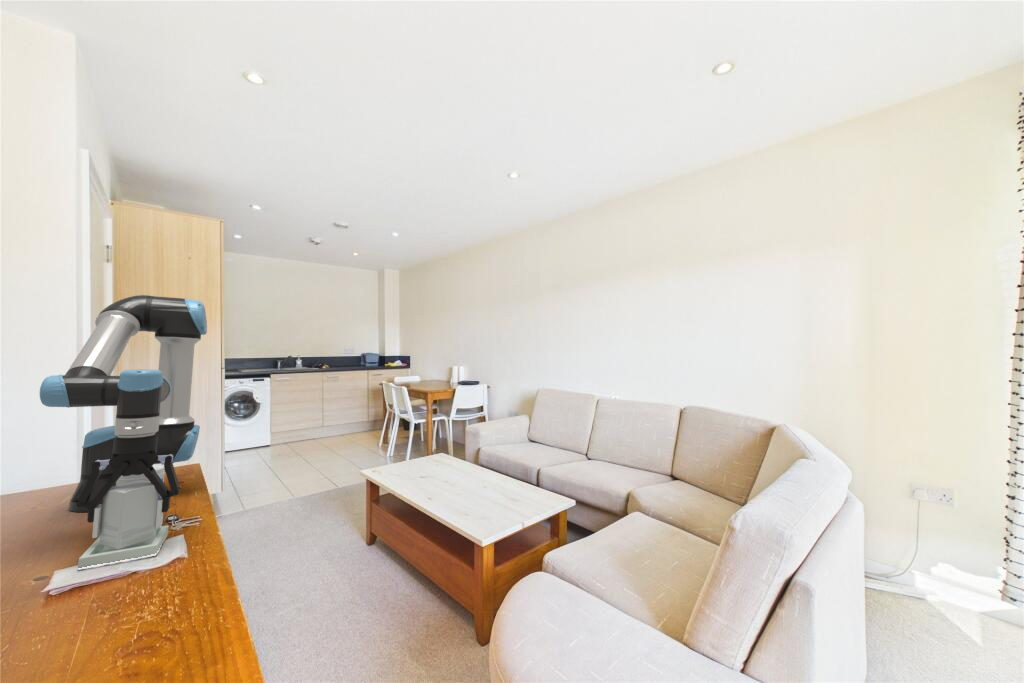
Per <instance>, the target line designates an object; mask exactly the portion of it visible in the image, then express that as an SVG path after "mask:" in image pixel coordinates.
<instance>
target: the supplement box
mask: <svg viewBox="0 0 1024 683" xmlns="http://www.w3.org/2000/svg"><path fill="white" fill-rule="evenodd" d="M158 500H159V493H158V492H157V490H156V489H155V487H154V485H152V484H151V482H148V481H143V480H140V481H135V482H131V483H126V484H122V485H118V486H114V487H111V488H110V489H109V490H108V492H107V493H106V494H105V496H104V497H103V504H102V516H101V528H100V535H99V536H100V539H99V544H100V545H104V546H107V547H111V548H114V549H122V548H125V547H128V546H130V545H133V544H136V543H139V542H142V541H145V540H148V539H151V538H153V537H155V536H156V518H157V505H158Z"/></svg>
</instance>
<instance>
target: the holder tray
mask: <svg viewBox="0 0 1024 683" xmlns="http://www.w3.org/2000/svg"><path fill="white" fill-rule="evenodd" d="M169 526H170V525H169V524H168V525H161V527H160V528H157V529H156V536H155V537H153V538H151V539H148V540H145V541H142V542H139V543H136V544H133V545H130V546H128V547H125V548H122V549H114V548H111V547H107V546H104V545H100V544H99V539H100V535H99V536H98V537H97V538H96V540H94V542H93V543H92V544H91V545H90V546H89V547H88V548H87V549H86V551H84V553H83V554H82V555H81V556H80V557H79V558H78V563H77V569H78V568H82V567H87V566H91V565H97V564H103V563H110V562H115V561H120V560H125V559H131V558H138V557H142V556H147V555H151V554H155V553H157V551H158V550H159V548H160V546H161V545H162V543H163V542H164V541H165V542H166V540H167V538H168V537H169V528H170V527H169ZM165 542H164V543H165ZM164 543H163V544H164ZM162 546H163V545H162Z"/></svg>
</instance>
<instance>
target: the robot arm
mask: <svg viewBox="0 0 1024 683" xmlns="http://www.w3.org/2000/svg"><path fill="white" fill-rule="evenodd" d="M94 323H95V328H94V330H93V331H92V333H91V335H90V336H89V337H88V339H87V341H86V342H85V344H84V345H83V347H82V349H80V351H79V353H78V355H77V356H76V358H75V359H74V360H73V362H72V363H71V365H70V366H69V368H68V370H67V371H66V373H65V374H63V375H62V374H58V375H49V376H47V377H45V378H44V379H43V380H42V382H41V385H40V387H39V388H40V389H39V400H40V403H42V405H43V406H45V407H47V408H67V409H68V408H83V407H84V408H86V407H88V408H89V407H112V406H114V407H116V415H115V422H114V423H115V424H114V425H110V426H106V427H100V428H99V427H98V428H96V429H93V430H90V431H88V432H87V433H86V434H85V436H84V439H83V440H84V441H83V445H82V446H81V448H82V457H81V468H80V480H79V482H78V484H77V486H76V488H75V490H74V492H73V494H72V496H71V498H70V499H69V502H68V511H70V512H75V513H76V512H77V513H86V512H87V520H86V521H87V523H93V525H92V536H91V538H92V539H98V537H99V536H100V528H101V516H102V504H103V497H104V496H105V494H106V493H107V492H108V490H109V489H110V488H111V487H114V486H116V481H117V480H118V479H119V478H120V477H121V475H122V476H129V475H141V474H144V475H145V477H147V478H148V479H149V481H150V482H151V484H152V485H154V487H155V489H156V490H157V492H158V493H159V494H160V496H161V497H160V499H159V500H158V505H157V518H156V529H157V528H160V527H161V526H163V523H164V522H163V521H164V513H168V512H169V509H170V507H171V506H170V504H171V498H172V497H174V496H177V495H179V494H180V492H181V486H180V484H179V483H180V482H179V480H178V476H177V474H176V470H175V466H174V464H175V463H180V462H186V461H189V460H190V459H192V457H193V455H194V453H195V450H196V447H197V443H198V439H199V434H200V428H201V426H200V425H198V424H195V422H196V421H195V419H194V418H193V417H192V416H190V412H191V411H190V409H191V398H192V397H191V394H192V379H193V371H194V370H193V368H194V357H195V356H194V354H195V345H196V344H197V343H198V342H200V341H201V339H202V336H204V335H207V332H208V322H207V313H206V307H205V305H204V303H203V302H202V301H200V300H196V299H190V298H179V297H169V296H158V295H157V296H155V295H149V294H148V295H147V294H141V295H140V294H139V295H132V296H128V297H124V298H122V299H119V300H117V301H115V302H113V303H111V304H109V305H107V306H106V307H105V308H103V309H102V310H101V311H100V312H99V314H98V315H97V317H96V319H95V322H94ZM139 332H149V333H154V338H155V339H156V341H158V342H159V343H160V345H159V346H160V347H159V357H158V358H159V360H158V369H139V368H138V369H124V370H122V371H121V372H120V373H119V375H112V373H113V371H114V369H115V367H116V366H117V364H118V362H119V360H120V358H121V356H122V355H123V352H124V351H125V349H126V347H127V345H128V343H129V341H130V339H131V338H132V337H133V336H136V335H137V334H138V333H139ZM160 464H161V466H164V471H165V475H166V478H167V481H168V485H169V488H168V486H167V485H166V484H165V482H164V483H163V481H162V480H161V478H160V477H159V476H158V474H157V473H156V471H155V469H154V468H153V465H160Z"/></svg>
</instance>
